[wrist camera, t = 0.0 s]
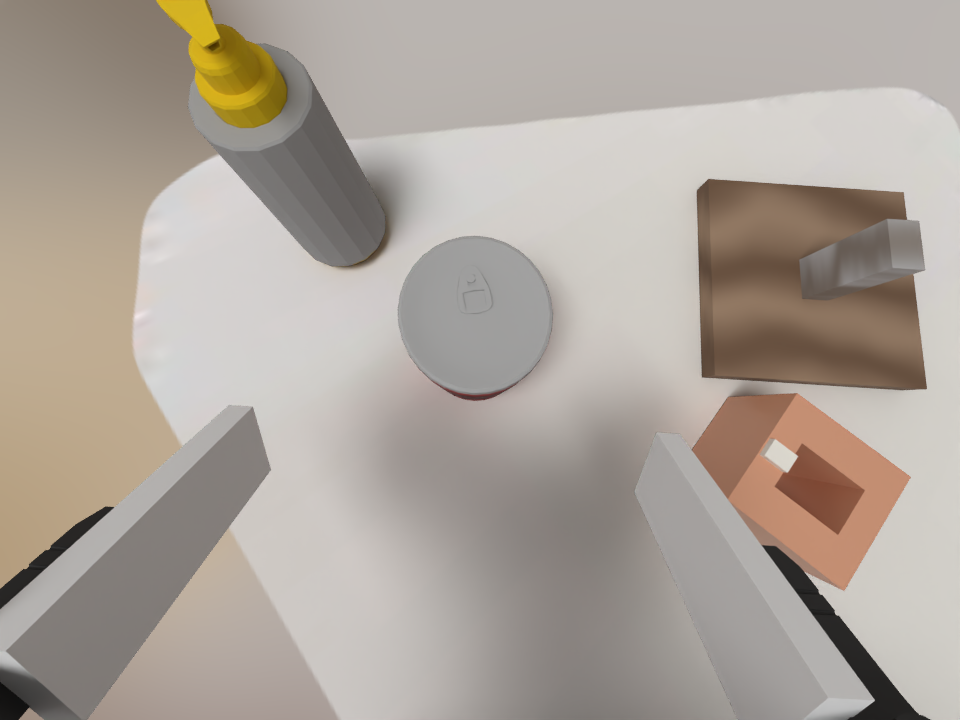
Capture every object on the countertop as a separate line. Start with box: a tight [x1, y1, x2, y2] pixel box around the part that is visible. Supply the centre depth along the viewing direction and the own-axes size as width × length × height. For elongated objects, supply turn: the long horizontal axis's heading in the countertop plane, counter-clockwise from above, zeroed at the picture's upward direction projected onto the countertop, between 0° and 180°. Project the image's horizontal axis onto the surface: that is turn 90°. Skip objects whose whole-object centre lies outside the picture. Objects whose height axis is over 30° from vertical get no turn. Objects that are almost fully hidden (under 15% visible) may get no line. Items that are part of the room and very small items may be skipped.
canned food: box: [398, 236, 553, 401], centre depth 23 cm, size 8×8×11 cm
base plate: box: [697, 179, 927, 390], centre depth 25 cm, size 16×16×8 cm
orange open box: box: [692, 393, 911, 591], centre depth 24 cm, size 8×8×6 cm
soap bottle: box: [156, 0, 385, 266], centre depth 20 cm, size 7×7×18 cm
